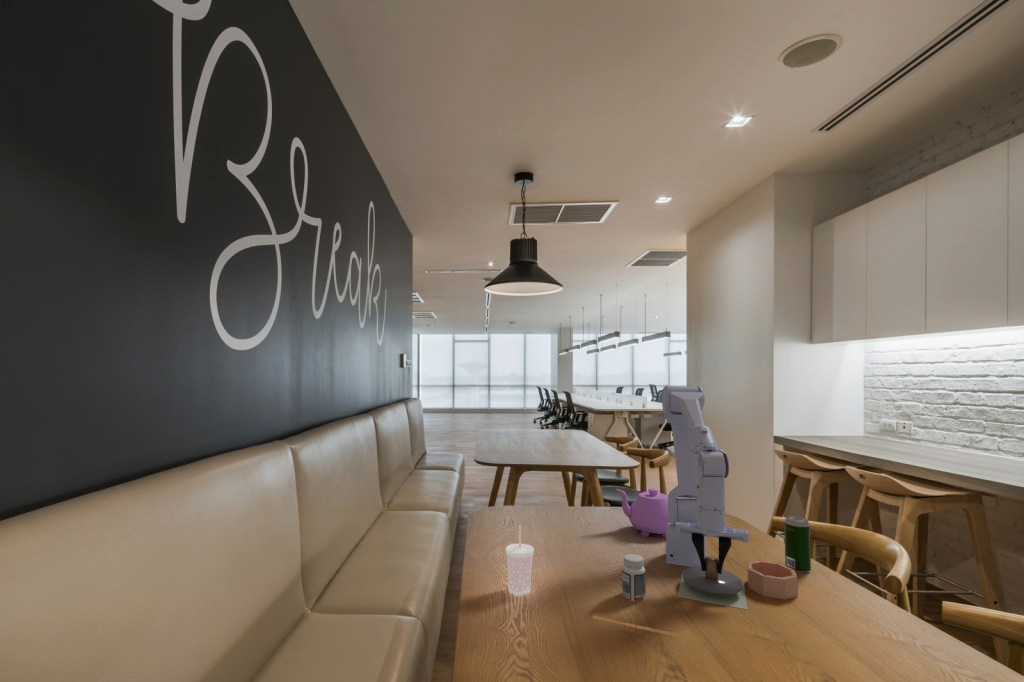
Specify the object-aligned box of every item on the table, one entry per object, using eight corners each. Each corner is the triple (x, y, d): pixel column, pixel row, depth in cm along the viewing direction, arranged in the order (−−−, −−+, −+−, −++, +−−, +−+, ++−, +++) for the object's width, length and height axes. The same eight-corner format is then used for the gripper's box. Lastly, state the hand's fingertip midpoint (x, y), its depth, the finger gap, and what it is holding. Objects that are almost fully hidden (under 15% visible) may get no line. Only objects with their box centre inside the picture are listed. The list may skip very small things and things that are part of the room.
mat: (678, 598, 99) (678, 596, 99) (682, 574, 111) (682, 572, 111) (747, 612, 94) (747, 609, 94) (743, 585, 106) (743, 582, 106)
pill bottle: (646, 595, 101) (646, 554, 101) (644, 605, 96) (644, 563, 97) (623, 591, 102) (623, 551, 103) (621, 601, 98) (620, 559, 99)
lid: (680, 587, 100) (680, 564, 100) (683, 566, 111) (683, 545, 111) (744, 599, 95) (743, 574, 95) (740, 575, 106) (740, 553, 106)
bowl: (749, 595, 101) (749, 574, 101) (746, 578, 110) (746, 558, 110) (800, 604, 97) (799, 582, 98) (793, 585, 106) (792, 565, 106)
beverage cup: (512, 582, 106) (513, 518, 107) (538, 588, 103) (538, 522, 104) (500, 594, 101) (500, 526, 102) (526, 600, 98) (527, 531, 99)
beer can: (804, 576, 111) (803, 524, 112) (780, 568, 115) (779, 518, 116) (815, 571, 114) (814, 520, 115) (792, 563, 118) (790, 514, 119)
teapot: (618, 538, 135) (618, 493, 136) (613, 522, 149) (613, 482, 150) (691, 542, 132) (691, 496, 133) (679, 526, 146) (679, 484, 147)
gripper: (674, 507, 103) (674, 571, 102) (748, 516, 97) (750, 584, 97) (676, 499, 110) (677, 559, 109) (746, 507, 104) (747, 571, 103)
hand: (711, 570), depth 103 cm, fingers closed on lid, 3 cm apart
